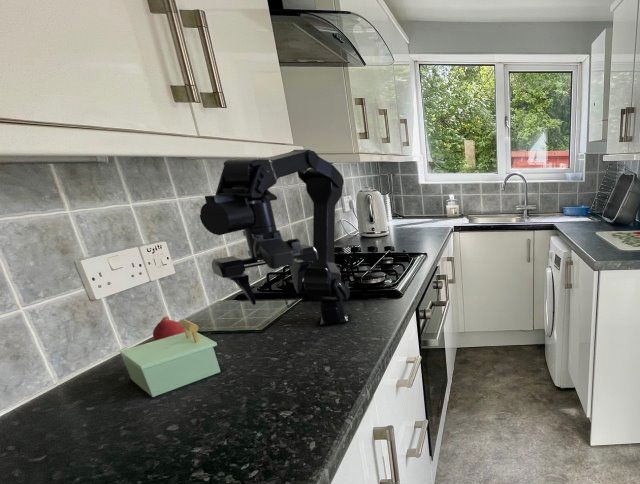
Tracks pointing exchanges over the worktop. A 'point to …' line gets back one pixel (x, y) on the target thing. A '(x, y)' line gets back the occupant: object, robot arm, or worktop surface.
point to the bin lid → (169, 347)
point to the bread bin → (174, 372)
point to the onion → (167, 329)
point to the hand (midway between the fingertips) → (277, 298)
